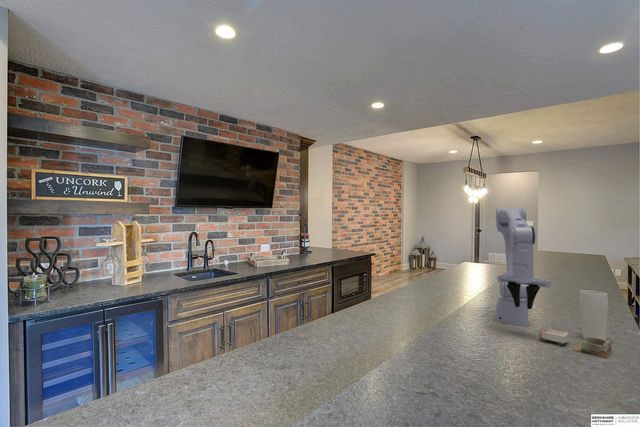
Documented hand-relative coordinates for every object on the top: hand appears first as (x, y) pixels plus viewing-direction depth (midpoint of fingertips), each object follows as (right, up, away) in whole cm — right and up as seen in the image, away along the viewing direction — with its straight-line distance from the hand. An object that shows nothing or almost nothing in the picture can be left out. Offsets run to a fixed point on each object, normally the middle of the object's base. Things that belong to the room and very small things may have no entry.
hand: (523, 307), depth 102 cm
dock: (+7, -9, -8) cm, 14 cm away
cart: (+5, -8, -6) cm, 12 cm away
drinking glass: (+19, -10, -4) cm, 22 cm away
